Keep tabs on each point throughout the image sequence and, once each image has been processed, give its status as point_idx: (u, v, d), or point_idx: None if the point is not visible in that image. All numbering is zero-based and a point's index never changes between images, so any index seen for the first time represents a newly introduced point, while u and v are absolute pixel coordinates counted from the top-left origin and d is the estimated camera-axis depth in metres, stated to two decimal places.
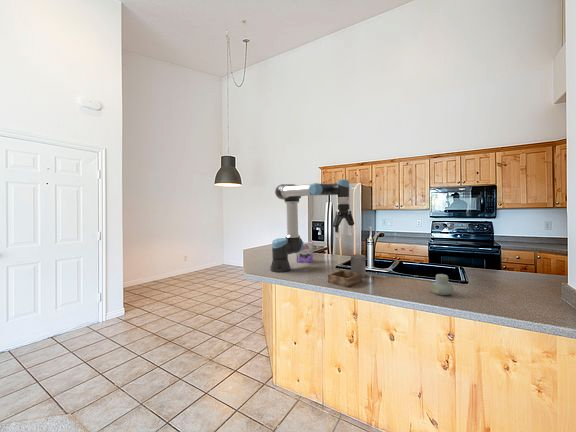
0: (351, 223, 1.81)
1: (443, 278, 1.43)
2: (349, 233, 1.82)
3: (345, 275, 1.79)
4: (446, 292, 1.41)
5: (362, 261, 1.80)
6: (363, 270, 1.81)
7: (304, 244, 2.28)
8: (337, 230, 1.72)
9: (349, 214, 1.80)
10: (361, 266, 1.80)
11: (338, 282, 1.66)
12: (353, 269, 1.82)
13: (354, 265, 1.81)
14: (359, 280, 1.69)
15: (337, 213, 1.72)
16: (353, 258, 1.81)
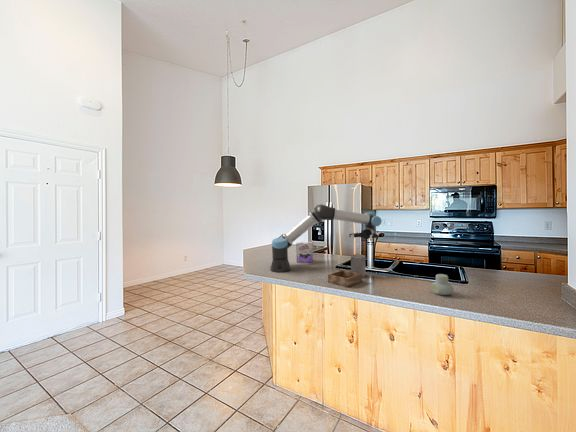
0: None
1: (443, 278, 1.43)
2: (352, 236, 1.95)
3: (345, 275, 1.79)
4: (446, 292, 1.41)
5: (362, 261, 1.80)
6: (363, 270, 1.81)
7: (304, 244, 2.28)
8: (372, 237, 1.91)
9: None
10: (361, 266, 1.80)
11: (338, 282, 1.66)
12: (353, 269, 1.82)
13: (354, 265, 1.81)
14: (359, 280, 1.69)
15: None
16: (353, 258, 1.81)
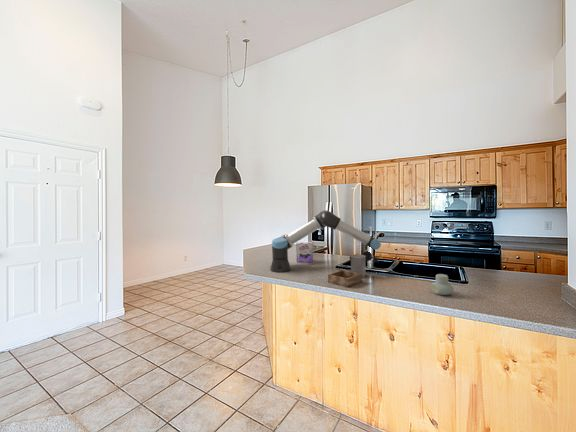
0: None
1: (443, 278, 1.43)
2: None
3: (345, 275, 1.79)
4: (446, 292, 1.41)
5: (362, 261, 1.80)
6: (363, 270, 1.81)
7: (304, 244, 2.28)
8: (373, 261, 1.91)
9: None
10: (361, 266, 1.80)
11: (338, 282, 1.66)
12: (353, 269, 1.82)
13: (354, 265, 1.81)
14: (359, 280, 1.69)
15: None
16: (353, 258, 1.81)
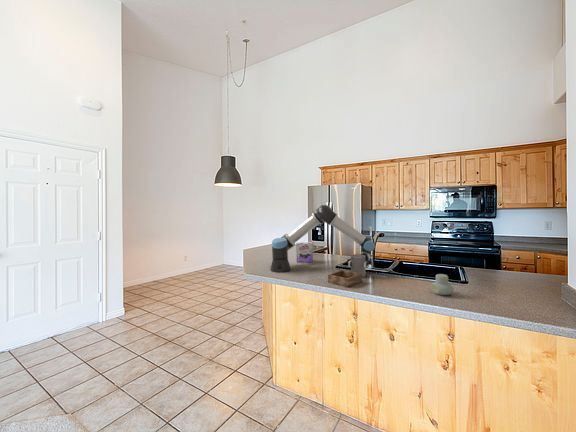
0: None
1: (443, 278, 1.43)
2: (349, 263, 1.84)
3: (345, 275, 1.79)
4: (446, 292, 1.41)
5: (362, 261, 1.80)
6: (363, 270, 1.81)
7: (304, 244, 2.28)
8: (366, 265, 1.82)
9: None
10: (361, 266, 1.80)
11: (338, 282, 1.66)
12: (353, 269, 1.82)
13: (354, 265, 1.81)
14: (359, 280, 1.69)
15: (371, 260, 1.91)
16: (353, 258, 1.81)
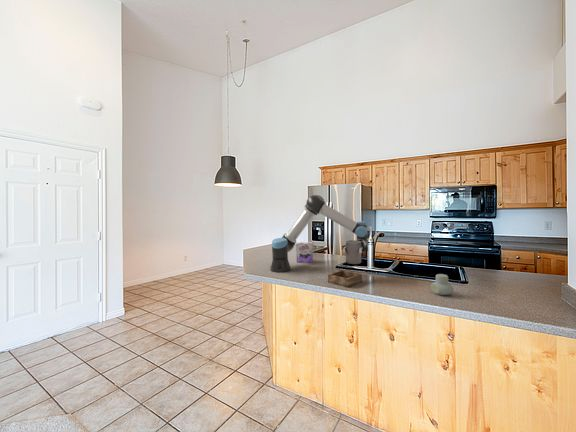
0: None
1: (443, 278, 1.43)
2: (344, 249, 1.76)
3: (345, 275, 1.79)
4: (446, 292, 1.41)
5: (358, 247, 1.72)
6: (359, 256, 1.73)
7: (304, 244, 2.28)
8: (362, 251, 1.74)
9: None
10: (357, 252, 1.72)
11: (338, 282, 1.66)
12: (348, 255, 1.74)
13: (349, 251, 1.73)
14: (359, 280, 1.69)
15: (367, 247, 1.84)
16: (348, 244, 1.73)
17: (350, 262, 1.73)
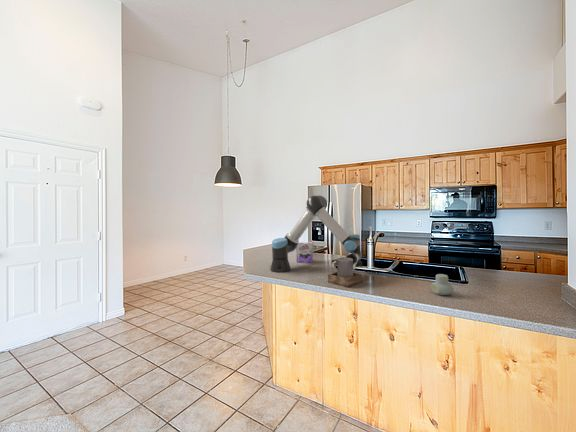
0: (336, 264, 1.78)
1: (443, 278, 1.43)
2: (334, 264, 1.72)
3: None
4: (446, 292, 1.41)
5: (349, 265, 1.66)
6: (350, 275, 1.67)
7: (304, 244, 2.28)
8: (356, 266, 1.68)
9: None
10: (348, 271, 1.66)
11: (338, 282, 1.66)
12: (339, 273, 1.68)
13: (340, 270, 1.68)
14: (359, 280, 1.69)
15: None
16: (339, 262, 1.68)
17: None
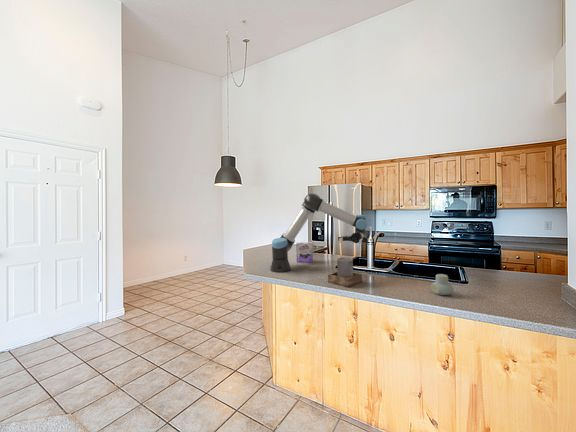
0: (342, 240, 1.89)
1: (443, 278, 1.43)
2: (340, 240, 1.82)
3: None
4: (446, 292, 1.41)
5: (349, 265, 1.66)
6: (350, 275, 1.67)
7: (304, 244, 2.28)
8: None
9: None
10: (348, 271, 1.66)
11: (338, 282, 1.66)
12: (339, 273, 1.68)
13: (340, 270, 1.68)
14: (359, 280, 1.69)
15: None
16: (339, 262, 1.68)
17: None
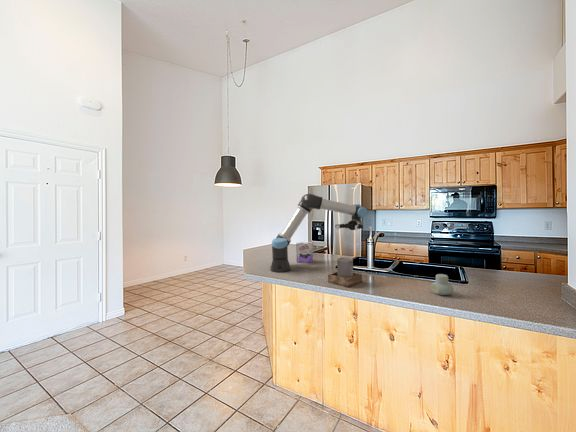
0: (339, 228, 2.03)
1: (443, 278, 1.43)
2: (337, 227, 1.96)
3: None
4: (446, 292, 1.41)
5: (349, 265, 1.66)
6: (350, 275, 1.67)
7: (304, 244, 2.28)
8: (357, 228, 1.93)
9: None
10: (348, 271, 1.66)
11: (338, 282, 1.66)
12: (339, 273, 1.68)
13: (340, 270, 1.68)
14: (359, 280, 1.69)
15: None
16: (339, 262, 1.68)
17: None
